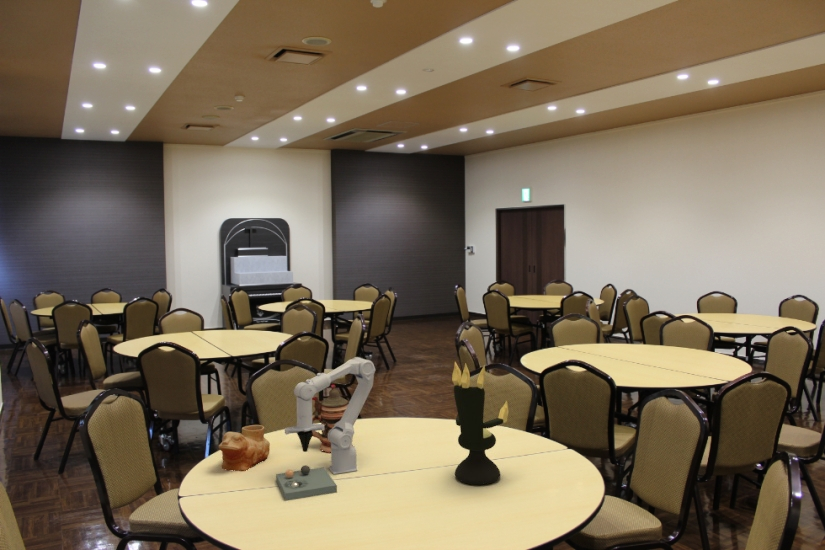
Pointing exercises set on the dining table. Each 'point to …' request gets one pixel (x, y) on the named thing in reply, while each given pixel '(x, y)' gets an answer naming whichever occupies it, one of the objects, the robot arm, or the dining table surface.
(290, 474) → the terracotta ball
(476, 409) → the candelabra
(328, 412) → the beer stein
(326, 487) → the plate
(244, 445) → the ceramic vessel
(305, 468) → the black ball
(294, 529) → the dining table surface
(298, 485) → the steel ball
